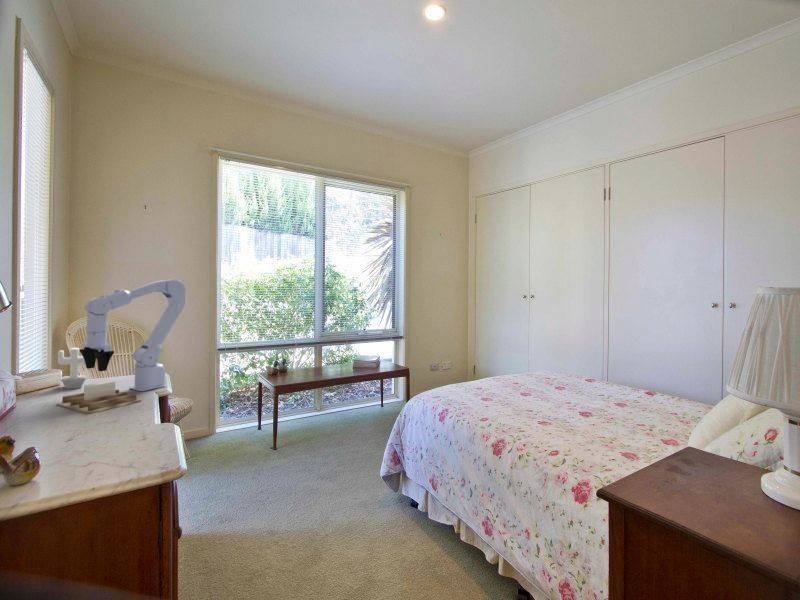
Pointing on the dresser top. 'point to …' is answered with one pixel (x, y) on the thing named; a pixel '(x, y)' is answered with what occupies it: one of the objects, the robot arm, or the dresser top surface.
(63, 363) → the figurine
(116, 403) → the dish rack
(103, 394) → the cream slab
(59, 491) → the dresser top surface
